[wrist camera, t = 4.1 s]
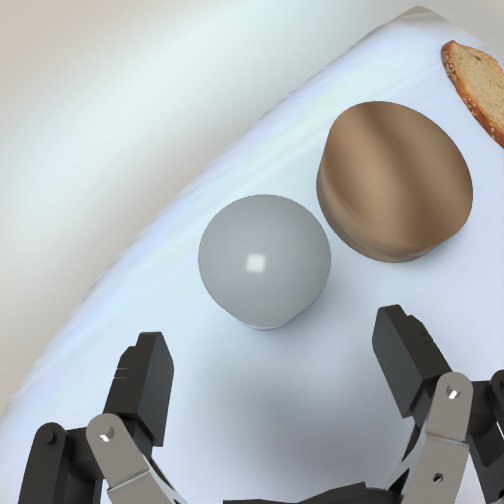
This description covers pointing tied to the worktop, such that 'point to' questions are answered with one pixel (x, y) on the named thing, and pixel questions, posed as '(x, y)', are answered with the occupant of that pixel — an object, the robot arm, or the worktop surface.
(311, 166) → the worktop surface
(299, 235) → the dome-topped grey cylinder
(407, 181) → the walnut round
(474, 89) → the bread slice
